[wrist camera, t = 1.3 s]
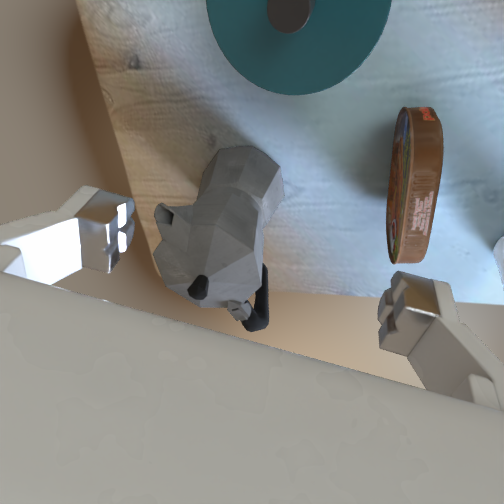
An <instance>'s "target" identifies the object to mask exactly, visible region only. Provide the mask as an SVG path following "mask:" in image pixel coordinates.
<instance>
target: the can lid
mask: <svg viewBox="0 0 504 504" xmlns="http://www.w3.org/2000/svg"><path fill="white" fill-rule="evenodd" d="M391 1H392V0H206V5H207V12H208V17H209V22H210V25H211V28H212V31H213V34H214V36H215V39H216V41H217V43H218V45H219V47H220V49H221V50H222V52H223V54H224V55H225V57H226V58H227V59H228V61H229V62H230V63H231V65H232V66H233V67H234V68H235V69H236V70H237V71H238V72H239V73H240V74H241V75H243V76H244V77H245V78H246V79H247V80H249V81H250V82H252V83H254V84H255V85H257V86H259V87H261V88H263V89H266V90H268V91H272V92H275V93H279V94H285V95H305V94H312V93H316V92H320V91H323V90H325V89H328V88H330V87H332V86H334V85H336V84H338V83H340V82H341V81H343V80H344V79H346V78H347V77H348V76H350V75H351V74H352V73H353V72H354V71H355V70H356V69H358V68H359V67H360V66H361V64H362V63H363V62H364V61H365V60H366V59H367V58H368V56H369V55H370V53H371V52H372V50H373V49H374V47H375V46H376V44H377V42H378V40H379V38H380V36H381V35H382V32H383V30H384V27H385V25H386V22H387V19H388V15H389V11H390V7H391Z"/></svg>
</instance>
